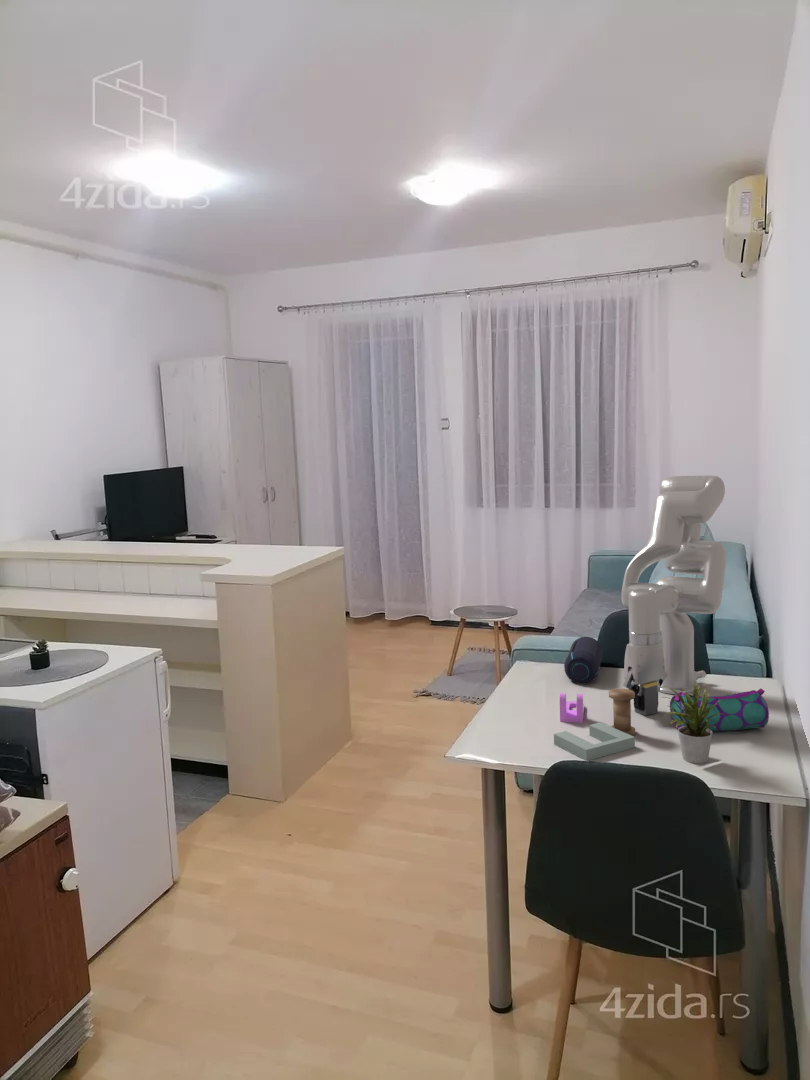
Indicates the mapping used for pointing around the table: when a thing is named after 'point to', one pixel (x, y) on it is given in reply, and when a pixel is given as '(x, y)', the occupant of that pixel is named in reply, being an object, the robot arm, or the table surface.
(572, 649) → the portable speaker
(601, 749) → the notched board
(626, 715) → the bobbin
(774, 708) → the table surface
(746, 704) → the pencil case
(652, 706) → the yellow and grey block
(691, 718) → the house plant
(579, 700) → the bracket
